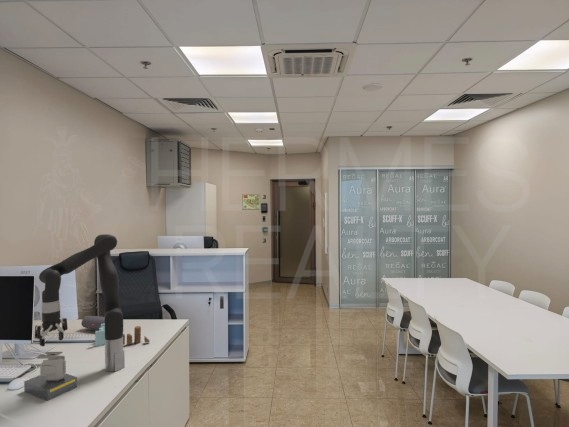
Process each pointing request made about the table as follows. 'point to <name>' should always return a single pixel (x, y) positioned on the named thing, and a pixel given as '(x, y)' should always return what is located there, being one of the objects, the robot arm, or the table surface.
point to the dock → (49, 386)
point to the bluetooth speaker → (93, 322)
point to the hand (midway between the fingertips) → (52, 342)
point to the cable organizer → (53, 368)
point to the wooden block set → (135, 336)
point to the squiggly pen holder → (100, 336)
